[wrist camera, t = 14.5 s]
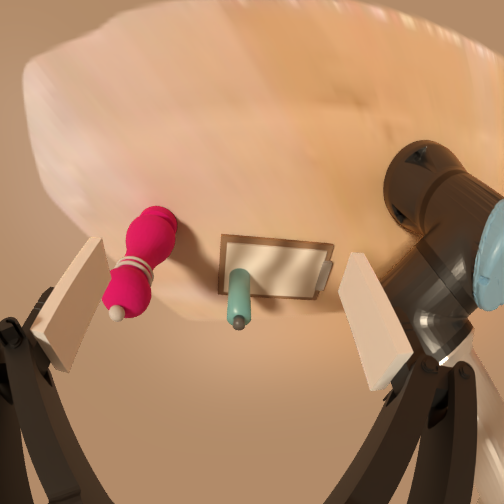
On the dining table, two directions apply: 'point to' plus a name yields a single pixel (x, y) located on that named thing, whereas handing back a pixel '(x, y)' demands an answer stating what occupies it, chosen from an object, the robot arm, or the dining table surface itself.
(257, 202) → the dining table surface
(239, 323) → the bottle
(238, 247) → the clipboard
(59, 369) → the robot arm
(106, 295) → the pepper mill
